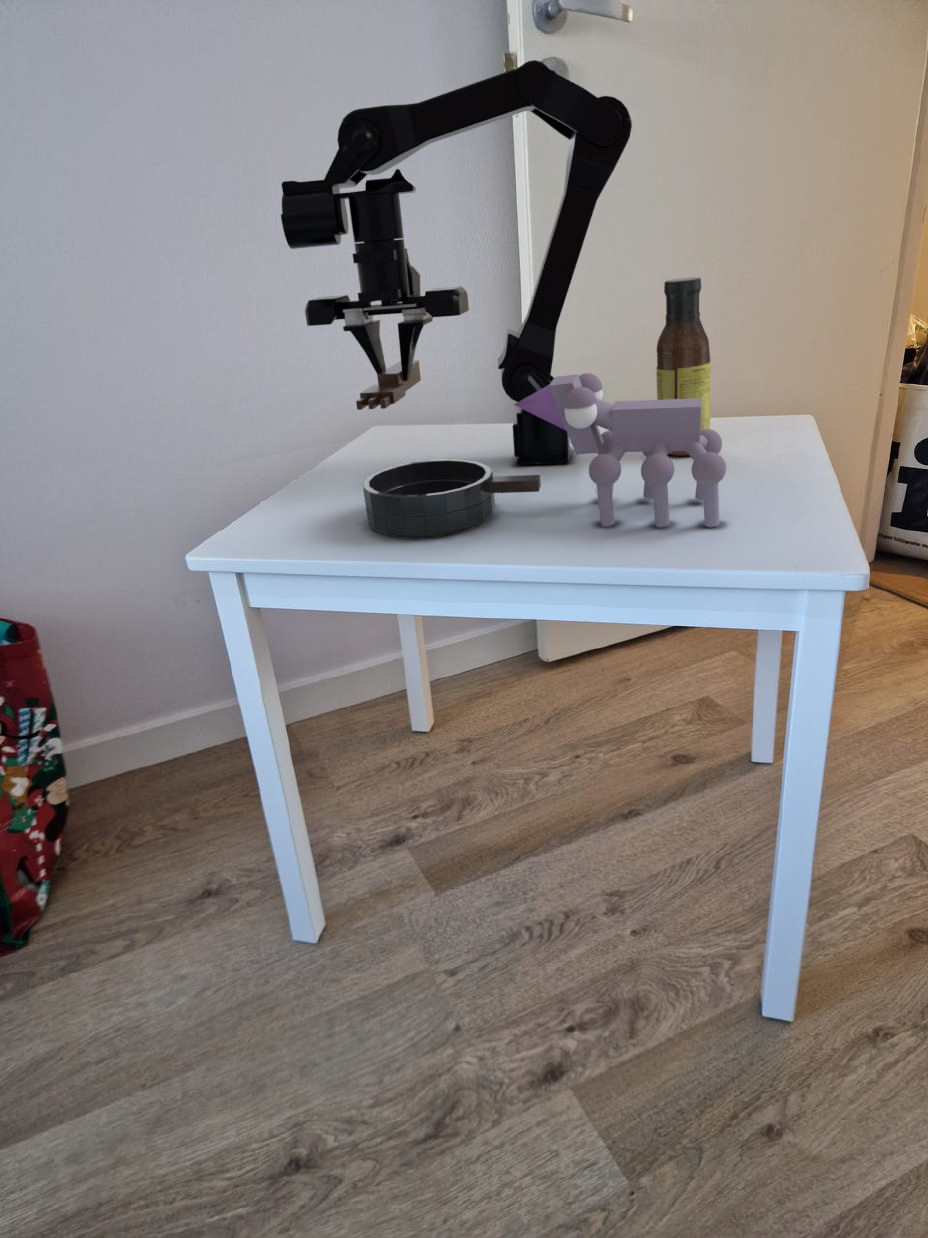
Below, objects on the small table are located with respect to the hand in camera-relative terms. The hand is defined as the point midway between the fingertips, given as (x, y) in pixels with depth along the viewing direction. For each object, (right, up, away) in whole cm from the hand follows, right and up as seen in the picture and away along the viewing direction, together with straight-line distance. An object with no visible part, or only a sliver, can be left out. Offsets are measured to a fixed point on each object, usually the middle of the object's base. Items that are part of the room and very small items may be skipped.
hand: (395, 381), depth 96 cm
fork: (0, -2, -1) cm, 2 cm away
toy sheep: (+24, -19, -17) cm, 35 cm away
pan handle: (+14, -16, -17) cm, 27 cm away
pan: (+5, -19, -13) cm, 24 cm away
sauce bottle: (+36, -9, +1) cm, 37 cm away
